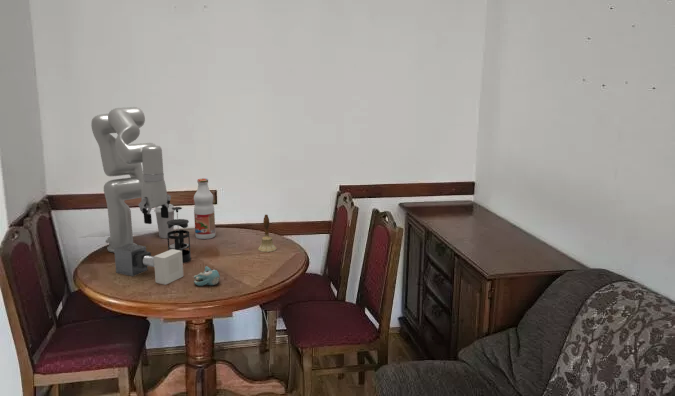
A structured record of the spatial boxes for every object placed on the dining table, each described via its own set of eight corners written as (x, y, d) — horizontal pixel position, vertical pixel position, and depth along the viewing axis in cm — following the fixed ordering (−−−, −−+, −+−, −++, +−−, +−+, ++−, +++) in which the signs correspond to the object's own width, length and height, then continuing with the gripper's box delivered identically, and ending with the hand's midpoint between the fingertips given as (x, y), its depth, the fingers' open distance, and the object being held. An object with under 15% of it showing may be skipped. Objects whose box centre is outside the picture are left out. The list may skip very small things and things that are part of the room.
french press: (189, 264, 252) (186, 210, 247) (166, 264, 252) (162, 210, 246) (193, 255, 264) (190, 203, 259) (171, 255, 263) (168, 204, 258)
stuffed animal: (204, 262, 239) (225, 262, 231) (208, 280, 240) (228, 281, 232) (183, 269, 230) (204, 270, 223) (186, 288, 231) (207, 289, 224)
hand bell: (254, 250, 270) (253, 216, 266) (263, 245, 277) (262, 211, 274) (271, 253, 267) (270, 218, 263) (279, 247, 274) (279, 213, 271)
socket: (155, 282, 232) (153, 256, 229) (173, 274, 240) (171, 249, 238) (165, 284, 230) (164, 258, 227) (183, 276, 238) (181, 250, 236)
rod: (116, 263, 243) (115, 250, 242) (126, 259, 247) (125, 247, 246) (152, 270, 235) (151, 257, 233) (161, 266, 239) (161, 254, 238)
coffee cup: (173, 239, 286) (171, 208, 283) (153, 239, 287) (151, 208, 283) (179, 233, 296) (177, 203, 292) (159, 233, 296) (157, 203, 293)
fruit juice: (218, 237, 290) (216, 179, 284) (200, 240, 284) (197, 182, 278) (210, 232, 297) (207, 176, 291) (192, 236, 292) (189, 178, 285)
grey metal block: (116, 272, 242) (114, 248, 240) (130, 266, 249) (129, 243, 247) (133, 276, 238) (131, 252, 236) (147, 270, 245) (146, 246, 243)
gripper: (161, 173, 244) (163, 214, 247) (130, 180, 228) (133, 224, 232) (176, 174, 241) (178, 216, 244) (145, 182, 225) (148, 227, 229)
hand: (156, 220), depth 238 cm, fingers open, 9 cm apart
